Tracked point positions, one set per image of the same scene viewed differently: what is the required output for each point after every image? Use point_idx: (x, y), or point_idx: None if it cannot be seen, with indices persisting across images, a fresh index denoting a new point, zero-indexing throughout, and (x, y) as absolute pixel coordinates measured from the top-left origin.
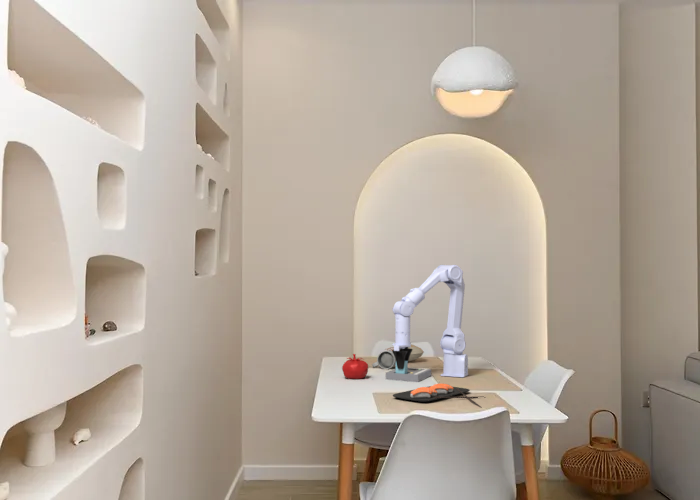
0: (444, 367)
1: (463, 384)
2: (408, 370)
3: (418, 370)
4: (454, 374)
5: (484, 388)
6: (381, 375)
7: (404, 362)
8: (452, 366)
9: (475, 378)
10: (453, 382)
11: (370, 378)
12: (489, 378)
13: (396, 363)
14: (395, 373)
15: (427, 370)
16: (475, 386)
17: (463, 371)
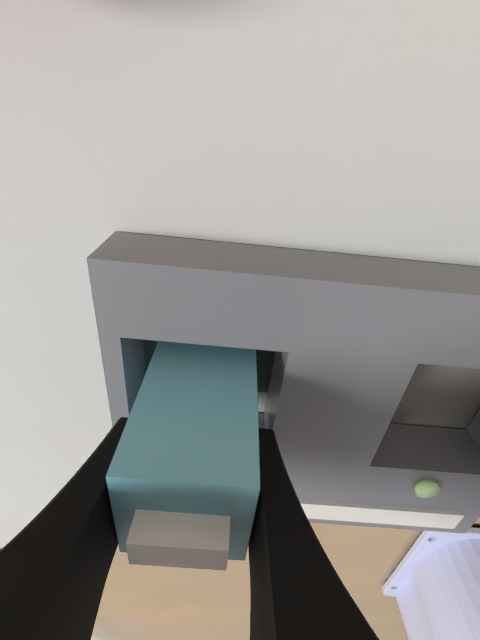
0: (470, 596)
1: (179, 593)
2: (365, 426)
3: (384, 483)
4: (411, 580)
5: (124, 629)
6: (404, 94)
7: (123, 539)
8: (434, 635)
9: (376, 609)
10: (216, 570)
11: (67, 4)
12: (388, 632)
13: (118, 453)
14: (104, 365)
15: (397, 524)
16: (152, 615)
17: (406, 625)
